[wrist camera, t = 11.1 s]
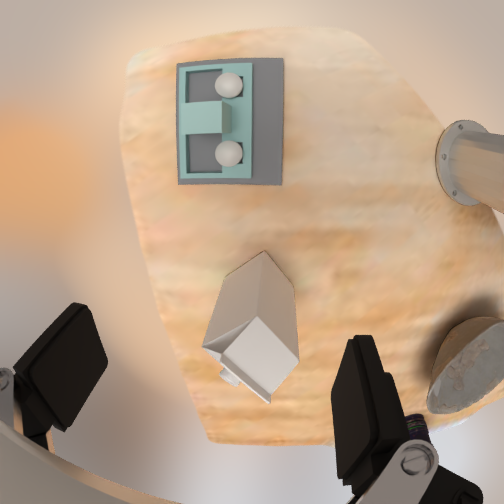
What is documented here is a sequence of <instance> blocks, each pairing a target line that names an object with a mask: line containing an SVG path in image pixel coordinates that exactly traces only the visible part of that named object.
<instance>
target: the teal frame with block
mask: <svg viewBox="0 0 504 504" xmlns="http://www.w3.org/2000/svg"><path fill="white" fill-rule="evenodd" d="M213 71H222V74H224V73H228V72H229V73H234V74H236V75H238V76H239V77H240V78H243V97H233V98H225V97H224V98H222V101H206V102H192V103H189V74H190V73H200V72H213ZM252 130H253V64H252V63H229V64H212V65H200V66H190V67H182V68H179V151H180V178H181V179H184V178H252ZM207 133H222V142H224V141H229V140H231V141H235V142H243V163H237V164H236V165H234V166H232V167H225V166H223V165H222V172H190V161H189V134H207Z"/></svg>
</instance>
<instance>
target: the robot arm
mask: <svg viewBox="0 0 504 504" xmlns="http://www.w3.org/2000/svg"><path fill="white" fill-rule="evenodd" d="M441 156H442V157H441ZM436 167H437V174H438V177H439V180H440V183H441V185H442V187H443V189H444V191H445V192H446V193H447V195H448V196H449V197H450V198H451V199H453V200H454V201H456V202H458V203H460V204H462V205H466V206H473V205H477V204H479V203H483V204H485V205H487V206H489V207H491V208H493V209H495V210H497V211H499V212H501V213H503V214H504V135H498V134H491V133H488V131H487V130H486V129H485V128H484V127H483V126H481V125H480V124H478V123H476V122H474V121H469V120H460V121H456V122H454V123H452V124H451V125H450V126H449V127H447V128H446V130H445V131H444V133H443V134H442V136H441V138H440V140H439V144H438V147H437V154H436ZM107 365H108V359H107V356H106V353H105V351H104V348H103V345H102V343H101V340H100V337H99V334H98V331H97V328H96V325H95V322H94V319H93V316H92V313H91V311H90V310H89V309H88V306H87V305H84V304H80V303H72V304H71V305H70V306H69V307H67V308H66V310H65V311H64V312H63V313H62V314H61V315H60V316H59V317H58V318H57V319H56V320H55V321H54V322H53V323H52V324H51V325H50V326H49V327H48V328H47V329H46V330H45V331H44V332H43V334H42V335H41V336H40V337H39V338H38V339H37V340H36V341H35V342H34V343H33V344H32V346H31V347H30V348H29V349H28V350H27V351H26V352H25V353H24V355H23V356H22V357H21V358H20V359H19V360H18V362H17V363H16V364H15V365H14V366H13V369H14V370H15V372H16V373H15V375H14V374H13V373H12V371H11V370H10V369H8V368H0V504H181V503H177V502H173V501H169V500H165V499H162V498H158V497H155V496H151V495H148V494H145V493H142V492H139V491H136V490H133V489H130V488H127V487H125V486H122V485H119V484H117V483H114V482H112V481H109V480H106V479H104V478H102V477H100V476H97V475H95V474H93V473H90V472H88V471H86V470H84V469H82V468H80V467H78V466H76V465H74V464H72V463H70V462H68V461H66V460H64V459H62V458H60V457H58V456H57V455H55V450H54V445H53V441H52V435H51V429H50V428H51V426H52V425H53V426H54V427H55V428H57V429H59V430H61V431H63V432H65V431H66V429H67V427H70V426H71V425H72V423H73V422H74V420H75V418H76V417H77V415H78V413H79V412H80V410H81V408H82V407H83V405H84V403H85V402H86V400H87V398H88V396H89V395H90V393H91V391H92V390H93V388H94V387H95V385H96V384H97V382H98V380H99V379H100V377H101V375H102V374H103V372H104V371H105V369H106V368H107ZM331 404H332V414H333V425H334V436H335V449H336V463H337V476H338V479H343V486H345V485H352V493H353V494H354V495H353V497H352V498H351V499H350V500H349V501H348V502H347V504H483V494H482V491H481V489H480V488H479V487H478V486H477V485H476V484H474V483H472V482H470V481H468V480H466V479H464V478H462V477H460V476H458V475H456V474H455V473H453V472H451V471H449V470H447V469H446V468H444V467H442V466H440V465H438V463H439V457H438V454H437V451H436V449H435V448H434V447H433V446H432V445H431V444H430V443H428V442H426V441H423V440H411V438H410V434H409V430H408V427H407V423H406V419H405V416H404V412H403V409H402V406H401V402H400V399H399V396H398V392H397V389H396V386H395V383H394V380H393V377H392V375H391V374H390V373H389V372H384V370H383V366H382V363H381V360H380V357H379V354H378V351H377V348H376V345H375V342H374V339H373V337H372V336H371V335H355V336H354V338H353V339H349V340H348V342H347V345H346V348H345V352H344V355H343V358H342V361H341V364H340V367H339V370H338V373H337V376H336V379H335V382H334V385H333V388H332V391H331Z"/></svg>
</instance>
